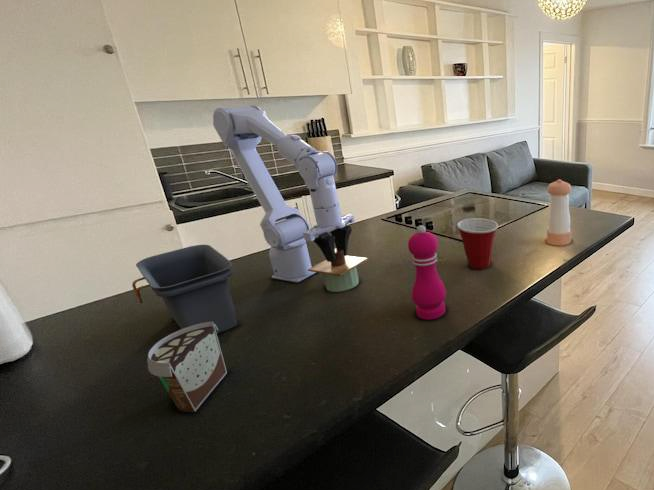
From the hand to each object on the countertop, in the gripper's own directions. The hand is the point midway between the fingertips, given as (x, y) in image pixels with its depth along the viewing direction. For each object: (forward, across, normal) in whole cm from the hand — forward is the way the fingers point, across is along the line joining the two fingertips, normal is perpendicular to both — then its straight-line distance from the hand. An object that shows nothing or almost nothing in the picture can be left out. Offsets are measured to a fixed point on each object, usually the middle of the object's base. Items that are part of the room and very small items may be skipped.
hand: (337, 258), depth 101 cm
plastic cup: (+8, +21, -29) cm, 37 cm away
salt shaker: (+8, +44, -45) cm, 63 cm away
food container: (+7, -40, -4) cm, 41 cm away
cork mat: (+2, 0, 0) cm, 2 cm away
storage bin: (+7, -25, +17) cm, 31 cm away
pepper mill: (+8, -5, -29) cm, 30 cm away
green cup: (+7, 0, 0) cm, 7 cm away
